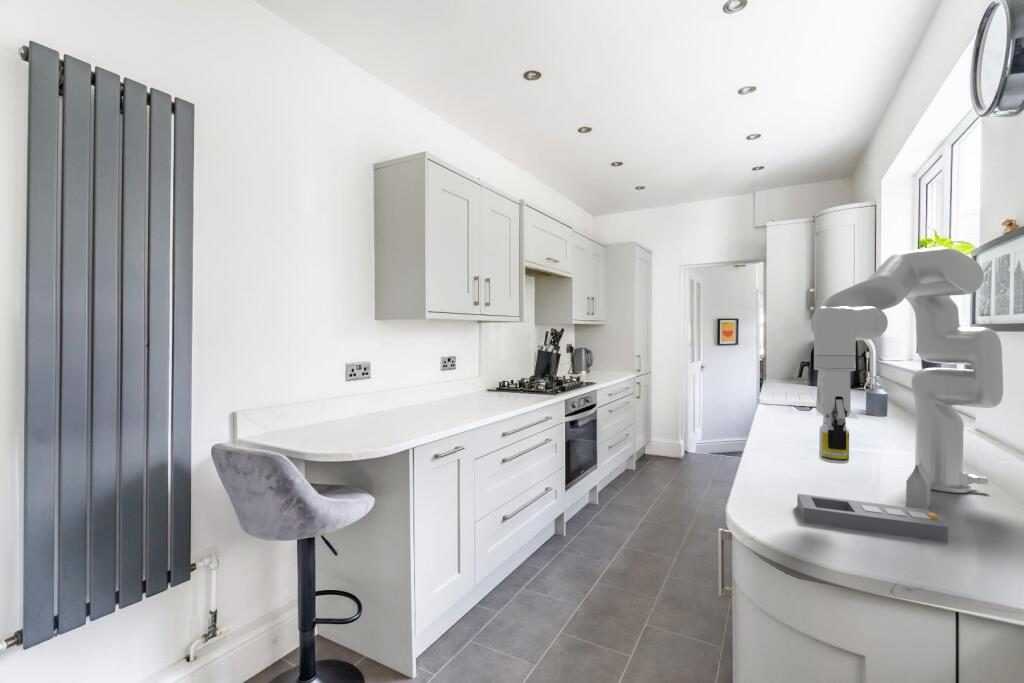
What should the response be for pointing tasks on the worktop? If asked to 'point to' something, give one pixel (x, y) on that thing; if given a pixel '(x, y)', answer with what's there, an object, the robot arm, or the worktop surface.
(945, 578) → the worktop surface
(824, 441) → the supplement bottle
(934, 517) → the power strip
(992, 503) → the worktop surface
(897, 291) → the robot arm
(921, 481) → the white gable-top box
